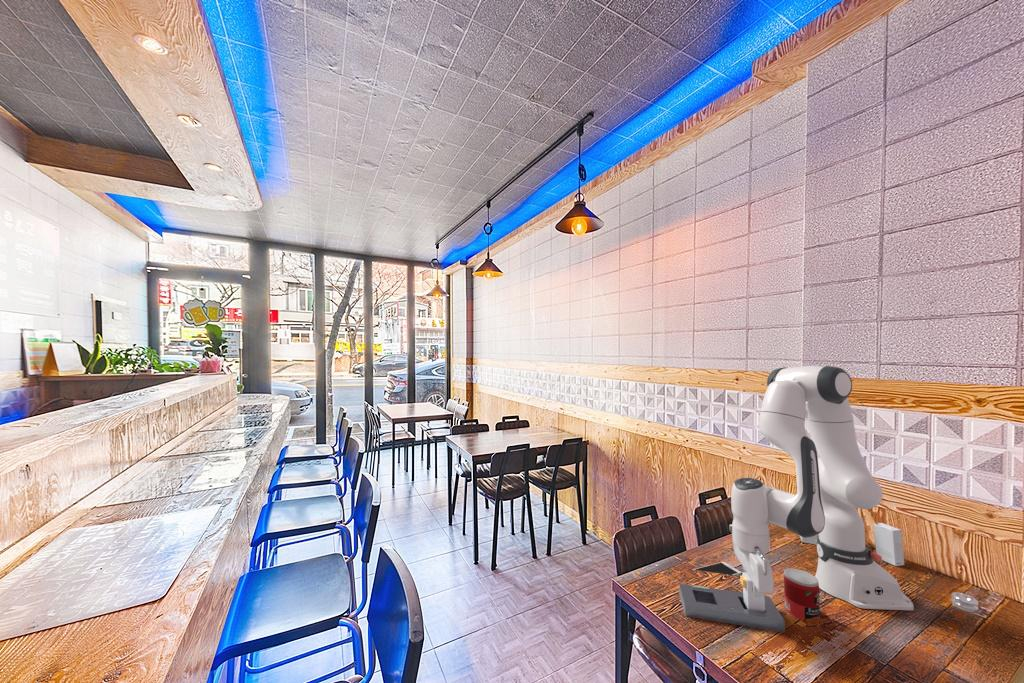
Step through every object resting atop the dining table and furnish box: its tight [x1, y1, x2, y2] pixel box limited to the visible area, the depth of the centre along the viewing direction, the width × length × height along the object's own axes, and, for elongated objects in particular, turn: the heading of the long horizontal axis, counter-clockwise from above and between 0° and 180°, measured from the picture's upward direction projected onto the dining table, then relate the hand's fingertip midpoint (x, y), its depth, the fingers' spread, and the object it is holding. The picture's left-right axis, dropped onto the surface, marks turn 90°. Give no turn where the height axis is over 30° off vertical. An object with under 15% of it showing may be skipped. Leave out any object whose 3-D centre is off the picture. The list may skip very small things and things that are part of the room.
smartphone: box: [691, 561, 743, 576], centre depth 126 cm, size 7×16×1 cm, turn 109°
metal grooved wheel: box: [950, 591, 980, 614], centre depth 109 cm, size 5×3×5 cm
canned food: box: [783, 567, 821, 623], centre depth 105 cm, size 8×8×11 cm
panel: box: [678, 583, 786, 633], centre depth 106 cm, size 24×10×4 cm, turn 75°
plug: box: [739, 571, 765, 612], centre depth 104 cm, size 5×4×8 cm
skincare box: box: [873, 522, 905, 567], centre depth 133 cm, size 6×4×12 cm
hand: (753, 589), depth 104 cm, fingers closed on plug, 4 cm apart
